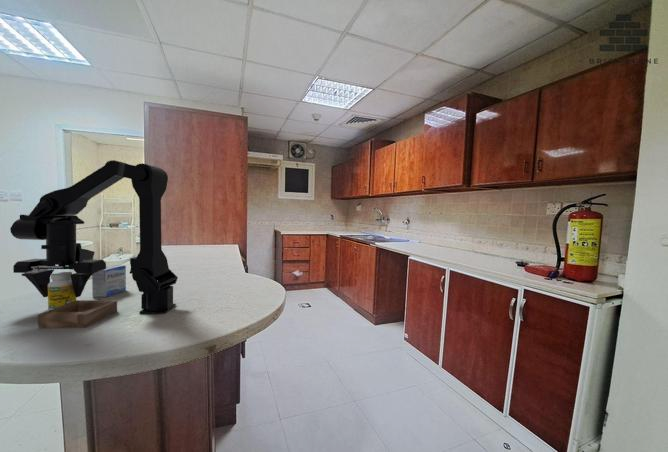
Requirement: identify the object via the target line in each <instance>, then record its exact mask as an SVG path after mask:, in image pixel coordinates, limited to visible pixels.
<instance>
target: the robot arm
mask: <svg viewBox="0 0 668 452" xmlns="http://www.w3.org/2000/svg"><path fill="white" fill-rule="evenodd" d="M124 178H126V179H131V186H132V188H133V190H134V191H135V194H136V195H137V197H138V206H139V208H138V210H139V211H138V212H139V252H138V253H137V256H136V257H131V258H130V259H129V264H130V270H129V274H131V277H132V280H133V281H134V282H135V284H136V286H137V289H138V291H139V293H141V295H140V296H141V310H140V311H139V312H138V313H139V314H142V315H143V314H146V315H147V314H165V313H167V312H170V311H171V309H173V308H174V307H176V305H177V303H174V285H176V284H177V281H178V279H179V278H178V276H177V275H176V274H175V273H174V272H173V271H172V270H171V269H170V268H169V262H168V258H167V256H166V255H165V253H164V252H163V250H162V197H163V196H164V194H165V192H166V191H167V187H168V180H169V176H168V173H167V172H166V171H165V170H164V169H162V168H161V167H158V166H154V165H150V164H146V163H138V164H135V165H134V164H129V163H126V162H123V161H119V160H115V159H113V160H112V159H111V160H107V161H106V163H105V164H104V165H103V166H101V167H99V168H98V169H96V170H94V171H93V172H92V173H90V174H88V175H87V176H85V177H84V178H82V179H80V180H78V181H77V182H75V183H74V184H72V185H71V186H69V187H66V188H61V189H60V188H59V189H56V190H53V191H51V192H48V193H45V194H43V195H42V196H41V197H40V199H39V202H38V203H37V204H36V205H35V206H34V208H33V209H32V210H31V212H30V213H28V214H20V215H19V218H18V219H16V220H15V221H14V222H13V223H12V225H11V226H10V228H9V229H10V234H11V235H12V236H13V237H14V238H16V239H19V240H33V241H35V240H36V241H39V240H40V241H45V244H42V245H41V247H40V249H41V250H46V251H45V253H46V256H45V257H46V258H30V259H26V260H19V261H16V262H15V263H14V264H13V270H12V271H13V273H14V274H15V273H16V274H21V276H22V277H25V278H26V280H28V281H29V282H30V283H31V284H32V285H33V286H34V287H35V289H36V290H37V291H38V292H39V293H40V294H41V296H42V297H43V298H48V284H49V283H50V282H51V274H54V271H55V270H73V271H74V272H75V273H72V274H71V275H70V276H71V281H72V285H73V290H74V294H75V296H76V298H79V297H82V294H83V291H84V289H85V288H86V285H87V283H88V281H89V280H90V278H91V277H92V274H94V273H96V272H98V271H100V270H104V269H106V267H107V263H106V261H105V260H104V259H94V255H95V253H96V252H95V251H93V250H89V249H86V248H82V244H81V242H77V225H84V224H85V221H84V220H83V219H81V218H79V216H77V215H79V213H80V212H82V211H83V210H84V209H85V208H86V207H87V205H88V202H89V201H90V200H91V199H92V198H95V196H97V195H98V194H101V192H103V191H105V190H107V189H108V188H110V187H111V186H113V185H115V184H117V182H119V181H121V180H122V179H124Z"/></svg>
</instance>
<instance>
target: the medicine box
mask: <svg viewBox="0 0 668 452" xmlns="http://www.w3.org/2000/svg"><path fill="white" fill-rule="evenodd" d="M126 266H127V265H122V264H121V265H119V264H116V265H115V264H114V265H110V266H109V265H108V266H106V269H104V270H100V271H98V272H96V273H94V274H92V275H91V279H92V281H91V285H92V287H91V288H92V291H91V292H92V298H93V297H94V298H108V297H110V296H114V295H116V294H119V293H121V292H125V291H126V290H127V286H126V285H127V283H126V282H127V281H126V280H127V270H126V269H127V267H126Z"/></svg>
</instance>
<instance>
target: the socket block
mask: <svg viewBox="0 0 668 452" xmlns="http://www.w3.org/2000/svg"><path fill="white" fill-rule="evenodd" d="M117 312H118V300H117V299H116V300H110V299H108V300H107V299H106V300H105V299H104V300H101V299H100V300H93V299H92V300H90V299H89V300H88V299H87V300H77V299H76V301H74V302H71V303H69V304H66V305H63V306H60V307H58V308H55V309H52V310H47V311H45V312H42V313H39V314H38V315H37V328H38V329H40V328H41V329H50V328H52V329H54V328H55V329H56V328H57V329H58V328H62V329H63V328H87V327H89V326H91V325H93V324H95V323H97V322H99V321H101V320H103V319H105V318H106V317H109V316H110V315H113V314H115V313H117Z"/></svg>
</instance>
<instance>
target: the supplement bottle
mask: <svg viewBox="0 0 668 452" xmlns="http://www.w3.org/2000/svg"><path fill="white" fill-rule="evenodd" d="M71 274H73V273H72V272H71V271H62V272H53V273H52V274H51V276H50V280H52V281H50V283H49V284H48V297H47V305H48V307H47V308H48V311H50V310H52V309H55V308H58V307H60V306H63V305H66V304H69V303H71V302H74V301H77V297H76V296H75V294H74V290H73V285H72V281H71V276H70V275H71Z"/></svg>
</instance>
